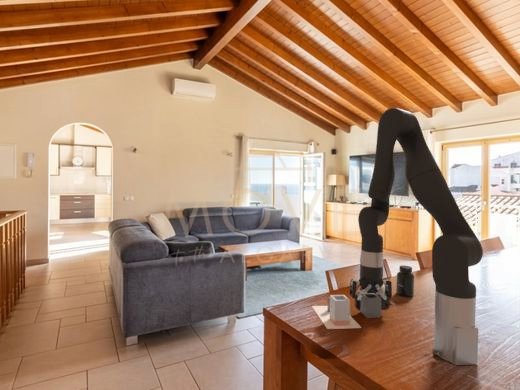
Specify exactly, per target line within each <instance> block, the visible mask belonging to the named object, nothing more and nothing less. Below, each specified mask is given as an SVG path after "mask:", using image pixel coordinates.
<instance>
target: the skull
mask: <svg viewBox="0 0 520 390" xmlns="http://www.w3.org/2000/svg"><path fill="white" fill-rule="evenodd" d="M381 290H382V291H383V292H384V294H385V286H384V284H383V285H382V287H381ZM375 294H376V295H378V296H379V297H380V295H379V294H378V293H377V292H376V293H375ZM380 298H381V297H380ZM392 298H393V296H392V297H391V298H387V299H386V307H388V306H395V305H396V303H395V302H396V301H394V300H392Z"/></svg>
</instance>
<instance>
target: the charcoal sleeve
mask: <svg viewBox="0 0 520 390" xmlns="http://www.w3.org/2000/svg"><path fill="white" fill-rule="evenodd" d="M360 300H361V310H360V313H361V314H362V315H363V316H364V317H366V319H370V318H371V319H372V318H373V319H374V318H375V319H376V318H382V310H381V298H380V297H379V296H378V295H376V294H375V293H366V294H365V295H364V296H362V298H361V299H360Z"/></svg>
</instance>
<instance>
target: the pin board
mask: <svg viewBox="0 0 520 390" xmlns="http://www.w3.org/2000/svg"><path fill="white" fill-rule="evenodd" d="M311 307H312V309H313V310H314V311H315V313H316V314H317V316H318V317H319V319H320V321H322V324H323V325H324V326H325V327H326V329H327V330H336V329H337V330H340V329H342V330H343V329H344V330H345V329H362V327H361V325H360V324H359V323H358V322H357V321H356V320H355V319H354V318H353V317H352V316H351V315H350V325H340V326H335V325H334V324H333V323H332V321H331V320H330V296H328V297H327V305H312V306H311Z"/></svg>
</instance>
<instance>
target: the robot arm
mask: <svg viewBox="0 0 520 390" xmlns="http://www.w3.org/2000/svg"><path fill="white" fill-rule="evenodd" d="M376 135H377V137H376V145H375V146H376V147H375V155H374V156H375V157H374V158H375V159H374V166H373V171H372V175H371V179H370V184H369V186H368V187H369V188H368V191H367V195H368V197H369V198H370V199H371V200H370V201H371V202H370V206H364V207H362V208H361V209H360V211H359V213H358V217H357V218H358V219H357V221H358V227H359V232H360V237H361V245H360V246H361V249H360V255H359V256H360V257H359V258H360V259H359V280H358V279H357V280H355V279H354V278H351V279H350V284H349V292H348V293H349V296H350V297H351V298H352V299H354V307H355V309H356V310H357V311H359V312H361V298H362V296H364V295H365V294H366V293H376V292H377V293H378V294H379V295H380V297H381V311H385V309H386V307H387V306H386V299H387V298H391V297H392V298H393V292H392V291H393V290H392V289H393V288H392V286H393V285H392V284H393V283H392V281H391V280H390V279H388V278H386V279H383V278H384V253H383V252H384V237H383V235H382V234H380V233H379V227H380V226H382V225H384V224H385V223H386V222H387V220H388V218H389V214H390V196H391V194H392V189H393V186H394V181H395V176H396V175H395V163H394V151H395V150H394V149H395V145H396V142H398V144H399V145H400V147H401V149H402V152H403V153H404V157H405V177H406V180H407V183H408V185H409V188H410V190H411V193H412V195H413V196H414V198H415V199H416V201H417V202H418V203H419V205H421V206H422V207H423V208H424V210H426V212H427V213H428V214H430V216H431V217H432V218H433V220H434V221H436V222H435V223H436V224H437V225H438V227H439V229H440V231H441V234H442V235H440V236H437V238H436V239H435V240H434V241H433V244H432V249H431V266H432V267H431V269H432V270H431V271H432V273H431V274H432V279H433V282H434V285H435V291H434V293H435V296H434V329H433V331H434V332H433V341H434V342H433V349H434V351H436V352H437V353H436V352H435V355H436V356H438V357H439V358H441V359H442V360H444V361H447V362H450V363H452V364H453V365H455V366H466V365H467V366H468V365H478V353H479V351H478V350H479V348H478V347H479V345H478V342H479V328H478V327H477V326H476V307H477V306H476V305H477V303H476V302H477V287H476V285H475V283H473V282H471V281H470V277H469V276H470V275H469V273H470V272H469V271H470V270H469V267H473V266H475V265H478V264H479V263H480V262H481V260H482V259H483V256H484V253H483V252H484V250H483V247H482V244H481V242H480V240H479V238H478V236H477V235H476V234H475V232H474V230H473V228H471V226H470V224H469V223H468V221H467V220H466V217H464V214H462V211H461V209H460V207H459V206H458V204H457V201H456V199H455V197H454V195H453V194H452V193H453V192H452V191H451V189H450V187H449V185H448V183H447V181H446V179H445V176H444V175H443V172H442V171H441V169H440V167H439V165H438V163H437V162H436V159H435V157H434V156H433V154H432V151H431V149H430V148H429V146H428V144H427V142H426V140H425V136H424V134H423V130H422V127H421V125H420V122H419V120H418V118H417V116H416V115H415V114H414V113H413V112H410V111H408V110H404V109H402V108H398V107H391V108H388V109H386V110H385V111H384V112H383V113H382V114H381V116H380V117H379V120H378V125H377V133H376ZM383 284H384V286H385V294H384V292H383V291H382V290H381V287H382V285H383ZM357 288H358V289H357Z"/></svg>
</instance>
